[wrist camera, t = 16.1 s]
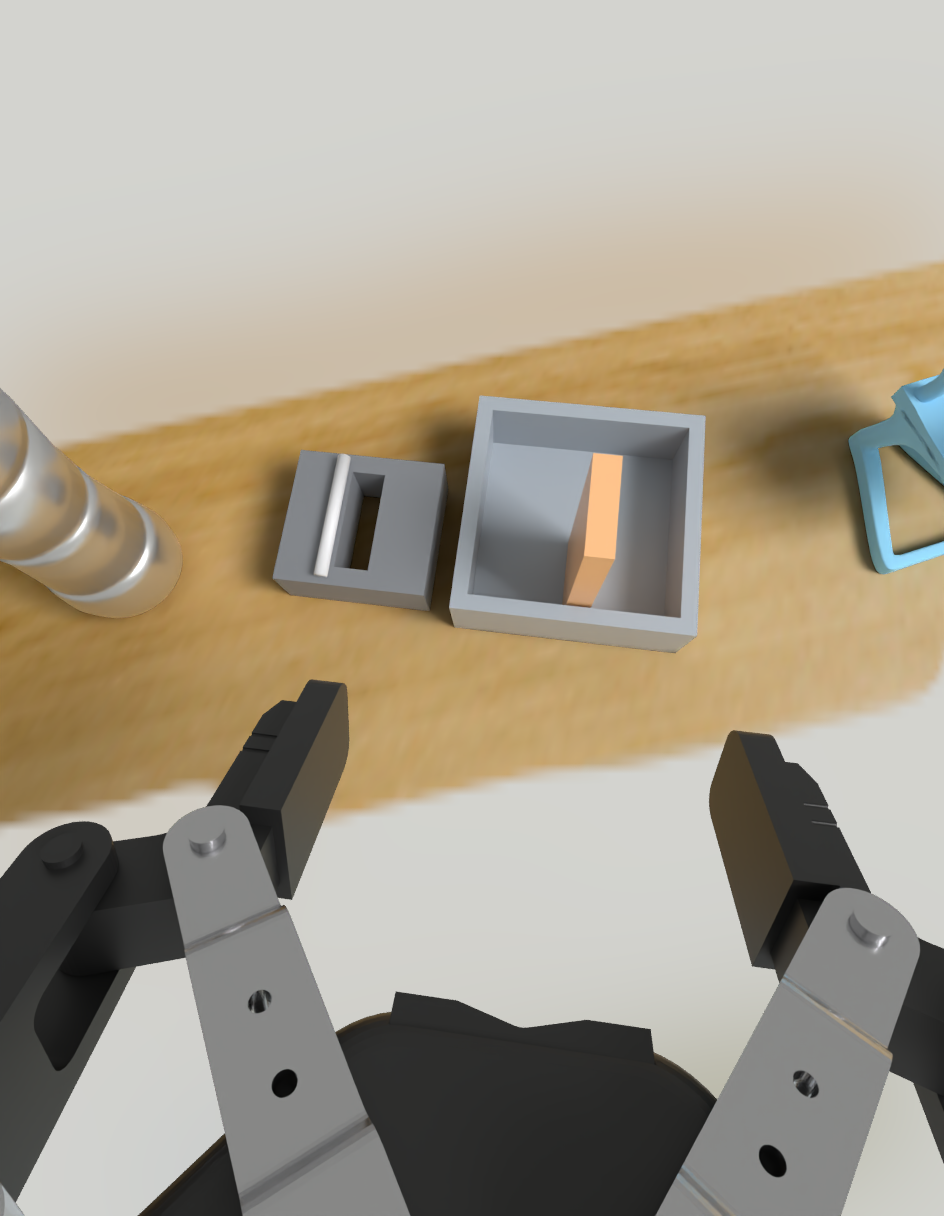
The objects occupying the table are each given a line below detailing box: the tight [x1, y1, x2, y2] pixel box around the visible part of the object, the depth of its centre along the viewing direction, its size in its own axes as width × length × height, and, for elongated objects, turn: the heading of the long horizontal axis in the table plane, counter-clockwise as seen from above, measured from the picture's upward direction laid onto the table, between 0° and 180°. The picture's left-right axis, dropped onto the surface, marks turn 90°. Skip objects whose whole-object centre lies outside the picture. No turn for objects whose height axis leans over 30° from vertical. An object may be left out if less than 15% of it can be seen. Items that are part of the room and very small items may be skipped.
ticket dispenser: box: [273, 450, 448, 611], centre depth 35 cm, size 8×8×4 cm
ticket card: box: [562, 453, 623, 608], centre depth 30 cm, size 1×4×10 cm, turn 172°
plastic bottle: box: [0, 388, 183, 618], centre depth 27 cm, size 6×7×20 cm
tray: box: [449, 396, 706, 653], centre depth 35 cm, size 12×12×4 cm
